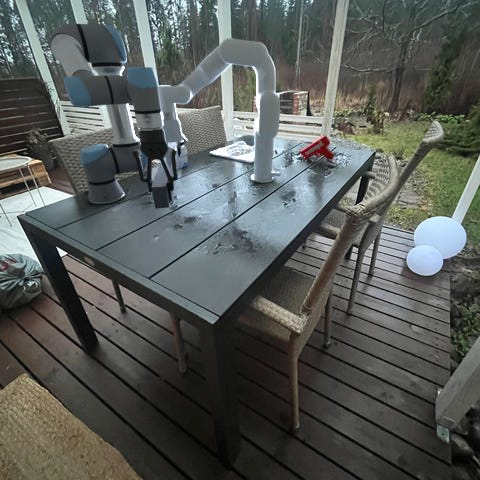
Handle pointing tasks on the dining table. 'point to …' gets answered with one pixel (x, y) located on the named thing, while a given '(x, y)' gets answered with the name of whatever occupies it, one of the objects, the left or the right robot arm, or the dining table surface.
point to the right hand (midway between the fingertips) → (174, 155)
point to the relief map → (237, 152)
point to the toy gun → (318, 149)
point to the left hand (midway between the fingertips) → (163, 199)
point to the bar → (163, 181)
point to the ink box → (183, 158)
